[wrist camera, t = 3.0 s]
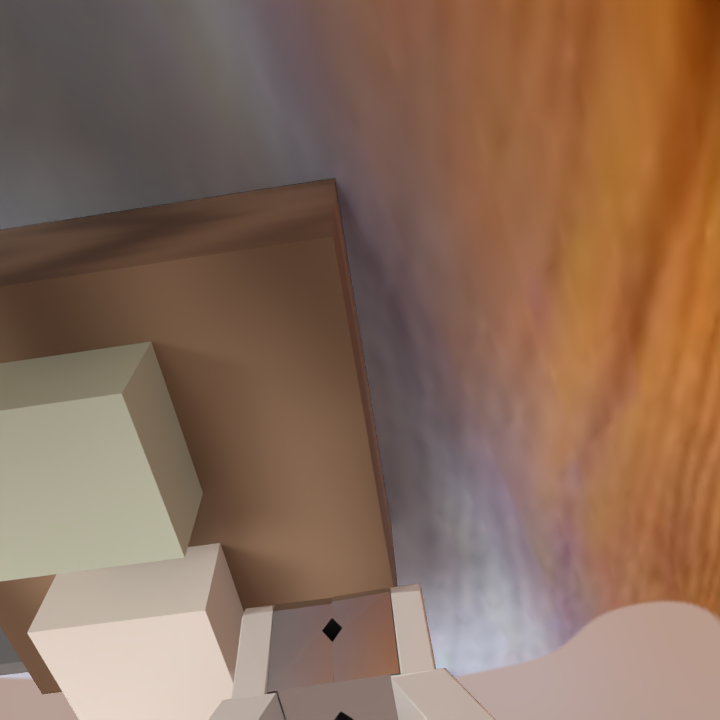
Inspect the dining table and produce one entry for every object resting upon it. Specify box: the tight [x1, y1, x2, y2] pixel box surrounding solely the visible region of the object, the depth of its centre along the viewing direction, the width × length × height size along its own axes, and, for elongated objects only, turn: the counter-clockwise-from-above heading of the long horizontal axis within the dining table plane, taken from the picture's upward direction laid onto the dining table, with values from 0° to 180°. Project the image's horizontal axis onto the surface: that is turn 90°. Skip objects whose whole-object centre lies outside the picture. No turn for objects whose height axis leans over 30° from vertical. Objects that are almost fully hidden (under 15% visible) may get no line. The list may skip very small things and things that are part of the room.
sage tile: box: [0, 342, 203, 581], centre depth 16 cm, size 5×5×2 cm
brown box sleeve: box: [0, 178, 397, 694], centre depth 21 cm, size 13×15×6 cm
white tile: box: [27, 543, 244, 720], centre depth 20 cm, size 5×5×2 cm
